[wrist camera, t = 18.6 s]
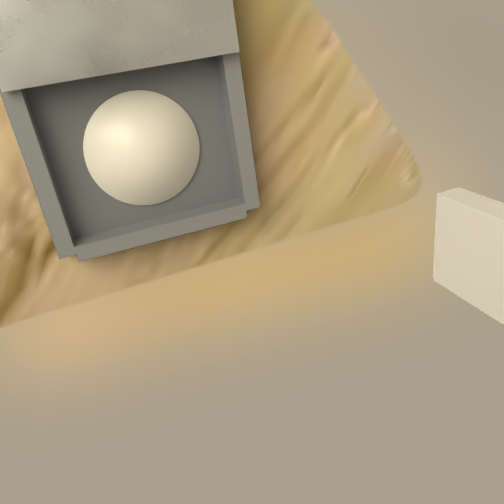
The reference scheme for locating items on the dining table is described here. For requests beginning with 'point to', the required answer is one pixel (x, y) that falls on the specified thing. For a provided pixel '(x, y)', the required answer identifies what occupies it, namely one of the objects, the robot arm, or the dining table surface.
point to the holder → (137, 153)
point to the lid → (107, 37)
